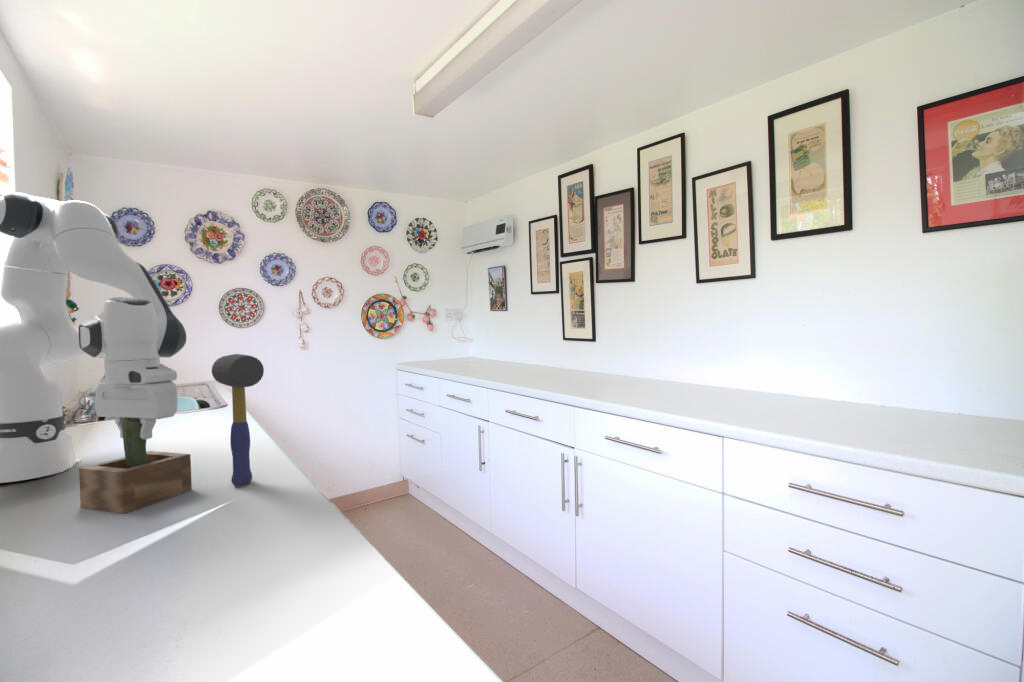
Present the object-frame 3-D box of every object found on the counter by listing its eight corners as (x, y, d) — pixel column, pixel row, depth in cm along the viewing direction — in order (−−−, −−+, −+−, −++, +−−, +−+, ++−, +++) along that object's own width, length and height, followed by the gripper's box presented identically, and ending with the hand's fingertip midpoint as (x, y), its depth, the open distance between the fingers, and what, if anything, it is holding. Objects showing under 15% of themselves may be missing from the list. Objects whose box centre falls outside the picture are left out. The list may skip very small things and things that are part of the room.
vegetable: (128, 490, 88) (123, 394, 88) (123, 486, 91) (118, 393, 90) (155, 484, 92) (150, 391, 91) (149, 480, 94) (145, 390, 94)
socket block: (80, 507, 87) (78, 468, 87) (151, 485, 99) (150, 451, 99) (123, 513, 83) (121, 472, 83) (191, 489, 95) (190, 454, 95)
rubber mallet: (271, 486, 96) (266, 353, 95) (233, 497, 90) (227, 355, 89) (249, 476, 104) (244, 353, 103) (213, 485, 98) (207, 354, 97)
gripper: (83, 375, 91) (86, 439, 91) (149, 375, 85) (152, 444, 85) (118, 372, 97) (121, 432, 97) (182, 372, 91) (185, 436, 91)
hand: (136, 438), depth 91 cm, fingers closed on vegetable, 4 cm apart
